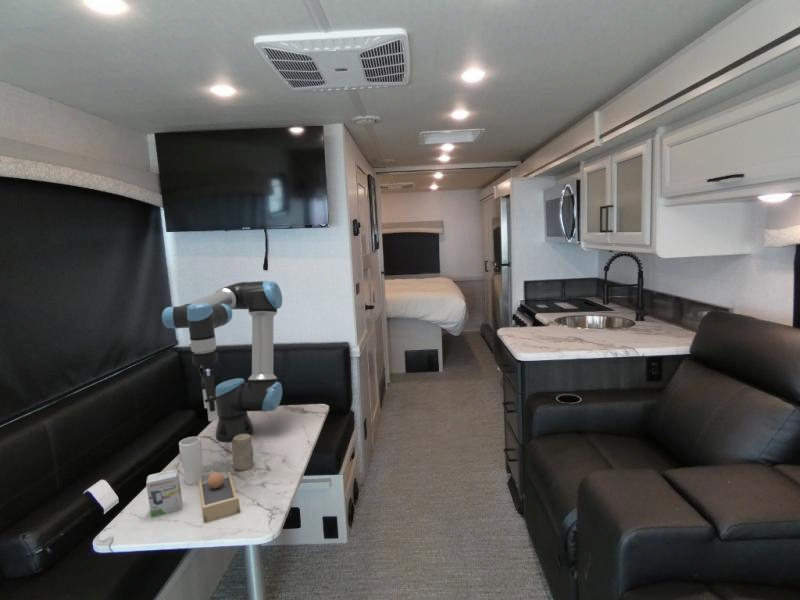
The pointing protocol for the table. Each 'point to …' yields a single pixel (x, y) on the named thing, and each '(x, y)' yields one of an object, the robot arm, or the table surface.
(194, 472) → the drinking glass
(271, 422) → the table surface
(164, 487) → the ink box
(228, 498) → the lane
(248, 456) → the carving
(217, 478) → the ball
